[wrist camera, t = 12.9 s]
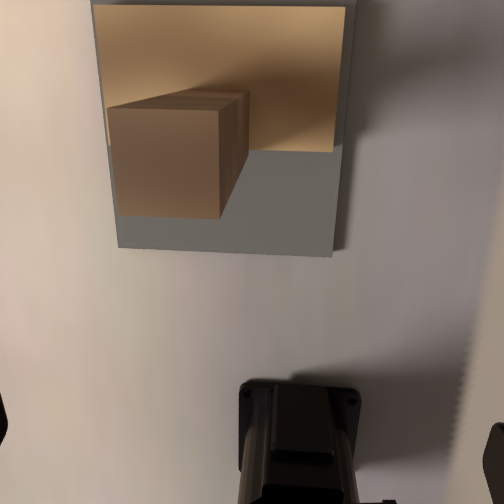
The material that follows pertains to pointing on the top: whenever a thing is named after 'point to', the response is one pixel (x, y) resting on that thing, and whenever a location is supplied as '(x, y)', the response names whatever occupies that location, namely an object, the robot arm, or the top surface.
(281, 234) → the rest mat
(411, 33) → the top surface
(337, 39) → the wooden stamp block
